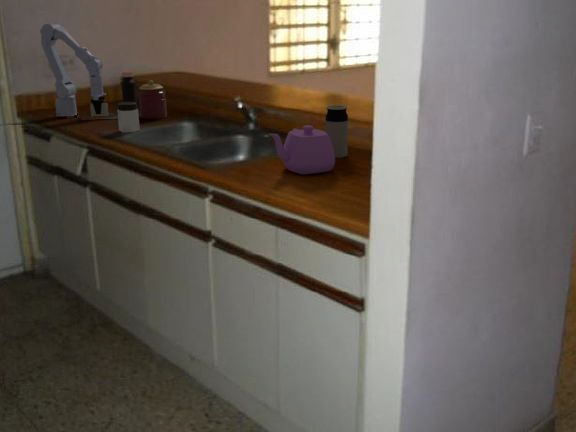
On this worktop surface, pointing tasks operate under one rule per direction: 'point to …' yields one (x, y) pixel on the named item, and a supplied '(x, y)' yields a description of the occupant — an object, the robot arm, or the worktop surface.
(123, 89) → the bottle
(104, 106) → the tile
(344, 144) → the travel mug
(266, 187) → the worktop surface
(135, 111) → the jar
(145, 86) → the canister
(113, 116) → the mat
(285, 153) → the teapot
